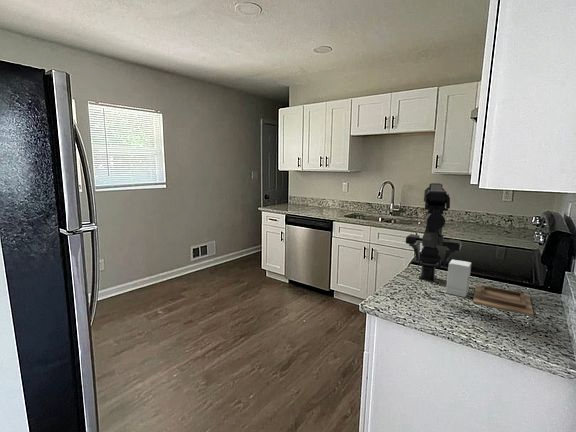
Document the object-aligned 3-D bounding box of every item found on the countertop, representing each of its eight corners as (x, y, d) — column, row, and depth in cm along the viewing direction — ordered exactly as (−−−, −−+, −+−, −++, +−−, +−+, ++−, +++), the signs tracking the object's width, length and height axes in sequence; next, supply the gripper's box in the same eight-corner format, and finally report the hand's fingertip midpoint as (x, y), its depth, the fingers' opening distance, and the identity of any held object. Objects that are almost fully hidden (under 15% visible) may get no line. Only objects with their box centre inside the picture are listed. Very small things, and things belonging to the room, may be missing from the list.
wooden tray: (475, 286, 134) (476, 281, 133) (528, 296, 124) (529, 291, 124) (472, 302, 117) (473, 297, 117) (533, 315, 107) (533, 310, 107)
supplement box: (466, 297, 122) (469, 266, 120) (445, 292, 126) (448, 263, 124) (468, 291, 128) (472, 262, 126) (448, 287, 132) (451, 258, 130)
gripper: (402, 224, 116) (400, 264, 119) (459, 231, 105) (455, 275, 108) (410, 220, 125) (407, 257, 128) (463, 225, 114) (459, 266, 117)
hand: (430, 263), depth 120 cm, fingers open, 9 cm apart
